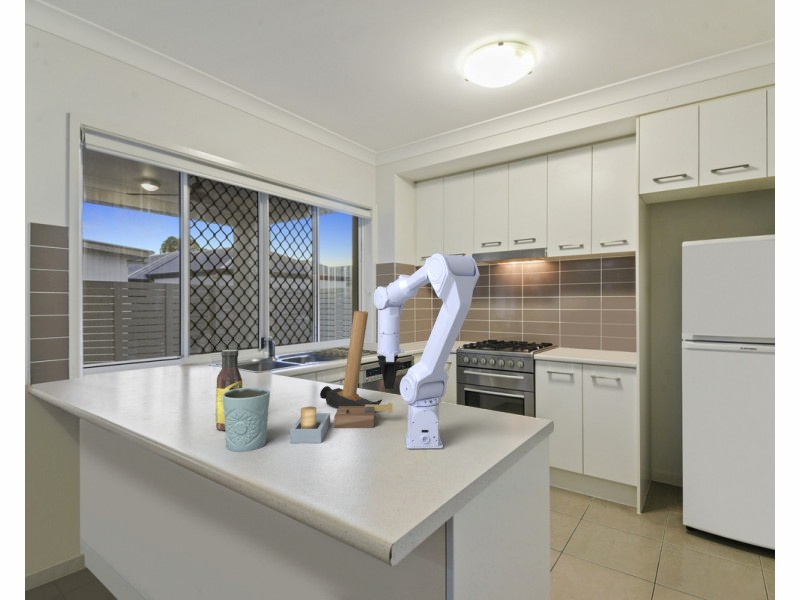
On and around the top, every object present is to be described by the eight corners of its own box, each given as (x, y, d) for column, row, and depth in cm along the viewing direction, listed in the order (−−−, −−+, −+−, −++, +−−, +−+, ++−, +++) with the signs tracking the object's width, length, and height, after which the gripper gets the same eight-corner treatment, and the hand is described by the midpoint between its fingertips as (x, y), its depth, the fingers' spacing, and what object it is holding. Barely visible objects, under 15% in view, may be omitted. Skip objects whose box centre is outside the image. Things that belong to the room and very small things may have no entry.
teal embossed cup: (254, 434, 101) (254, 385, 101) (279, 444, 95) (279, 391, 94) (213, 446, 93) (213, 392, 93) (237, 457, 87) (237, 399, 87)
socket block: (373, 427, 106) (373, 411, 106) (334, 428, 106) (334, 411, 106) (375, 416, 116) (375, 401, 116) (339, 416, 116) (339, 401, 116)
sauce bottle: (232, 432, 103) (232, 352, 103) (210, 430, 104) (209, 351, 104) (247, 424, 109) (247, 348, 109) (226, 423, 110) (225, 348, 110)
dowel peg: (319, 438, 98) (318, 408, 98) (304, 441, 96) (304, 411, 96) (312, 434, 101) (312, 405, 101) (298, 437, 99) (298, 408, 99)
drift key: (392, 412, 110) (392, 405, 110) (364, 412, 110) (364, 406, 110) (392, 409, 113) (392, 402, 113) (365, 409, 113) (365, 403, 113)
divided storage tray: (320, 443, 95) (320, 429, 95) (290, 443, 95) (290, 430, 95) (330, 424, 109) (330, 413, 109) (303, 424, 109) (303, 413, 109)
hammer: (379, 418, 122) (394, 318, 119) (369, 422, 118) (384, 319, 115) (330, 397, 133) (342, 305, 130) (318, 400, 129) (331, 305, 126)
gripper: (406, 336, 102) (406, 391, 102) (401, 330, 116) (401, 379, 116) (377, 336, 101) (377, 391, 101) (376, 330, 115) (375, 379, 116)
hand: (388, 385), depth 109 cm, fingers open, 7 cm apart
